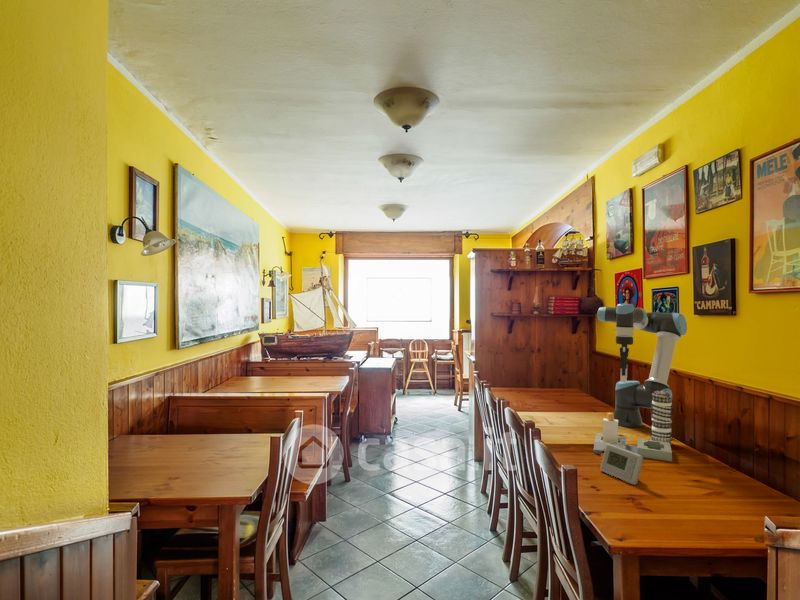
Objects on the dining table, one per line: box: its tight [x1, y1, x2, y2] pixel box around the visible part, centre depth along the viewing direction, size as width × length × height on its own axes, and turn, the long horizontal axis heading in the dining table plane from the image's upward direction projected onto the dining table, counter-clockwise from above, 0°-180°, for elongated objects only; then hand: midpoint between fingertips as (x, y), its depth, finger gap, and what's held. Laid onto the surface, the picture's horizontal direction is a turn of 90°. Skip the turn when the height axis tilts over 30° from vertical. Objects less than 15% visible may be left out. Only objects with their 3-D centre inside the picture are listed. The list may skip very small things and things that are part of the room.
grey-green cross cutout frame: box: [637, 438, 673, 462], centre depth 198 cm, size 12×15×4 cm
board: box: [592, 443, 673, 462], centre depth 202 cm, size 30×16×2 cm, turn 63°
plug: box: [602, 412, 619, 444], centre depth 206 cm, size 6×4×15 cm
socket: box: [593, 432, 627, 452], centre depth 206 cm, size 12×15×4 cm
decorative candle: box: [650, 391, 674, 446], centre depth 214 cm, size 9×9×25 cm
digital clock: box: [599, 444, 644, 486], centre depth 175 cm, size 16×9×11 cm, turn 12°
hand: (623, 380), depth 222 cm, fingers open, 13 cm apart
